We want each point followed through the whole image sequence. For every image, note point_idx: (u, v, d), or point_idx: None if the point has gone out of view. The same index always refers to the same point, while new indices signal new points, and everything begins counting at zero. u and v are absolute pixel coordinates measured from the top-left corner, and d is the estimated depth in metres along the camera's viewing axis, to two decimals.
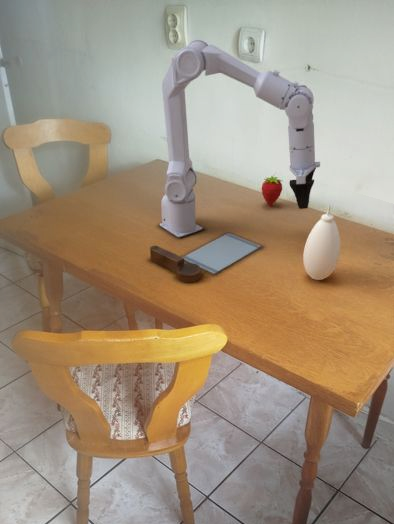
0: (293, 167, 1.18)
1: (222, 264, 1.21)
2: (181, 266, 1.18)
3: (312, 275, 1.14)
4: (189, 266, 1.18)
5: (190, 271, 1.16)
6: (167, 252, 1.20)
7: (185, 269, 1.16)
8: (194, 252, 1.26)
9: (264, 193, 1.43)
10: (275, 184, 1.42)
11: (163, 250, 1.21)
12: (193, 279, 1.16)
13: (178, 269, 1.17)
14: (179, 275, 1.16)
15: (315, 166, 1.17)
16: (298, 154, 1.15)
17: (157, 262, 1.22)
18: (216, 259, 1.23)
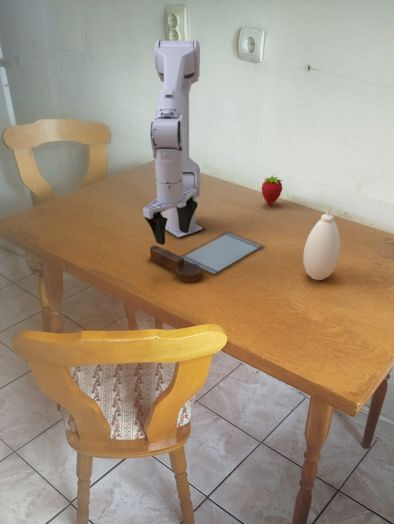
0: (157, 198, 1.09)
1: (222, 264, 1.21)
2: (181, 266, 1.18)
3: (312, 275, 1.14)
4: (189, 266, 1.18)
5: (190, 271, 1.16)
6: (167, 252, 1.20)
7: (185, 269, 1.16)
8: (194, 252, 1.26)
9: (264, 193, 1.43)
10: (275, 184, 1.42)
11: (163, 250, 1.21)
12: (193, 279, 1.16)
13: (178, 269, 1.17)
14: (179, 275, 1.16)
15: (176, 205, 1.07)
16: (158, 186, 1.06)
17: (157, 262, 1.22)
18: (216, 259, 1.23)
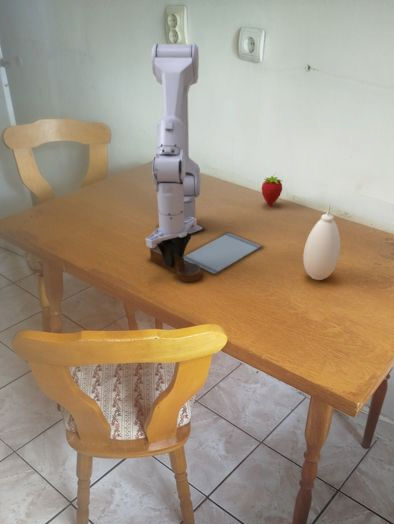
0: (159, 227, 1.14)
1: (222, 264, 1.21)
2: (181, 266, 1.18)
3: (312, 275, 1.14)
4: (189, 266, 1.18)
5: (190, 271, 1.16)
6: None
7: (185, 269, 1.17)
8: (194, 252, 1.26)
9: (264, 193, 1.43)
10: (275, 184, 1.42)
11: None
12: (193, 279, 1.16)
13: (178, 269, 1.17)
14: (179, 275, 1.16)
15: (177, 235, 1.12)
16: (160, 217, 1.10)
17: (157, 262, 1.22)
18: (216, 259, 1.23)
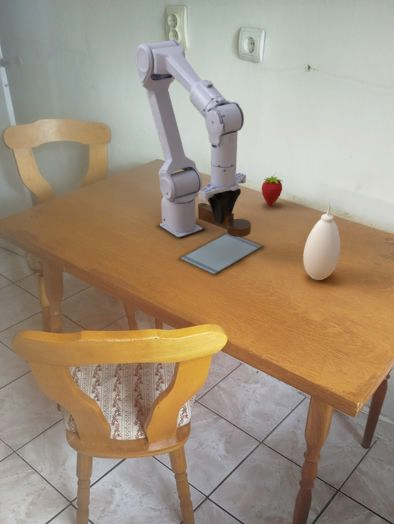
0: (210, 181, 1.15)
1: (222, 264, 1.21)
2: (230, 221, 1.19)
3: (312, 275, 1.14)
4: (239, 221, 1.19)
5: (241, 225, 1.17)
6: None
7: (235, 224, 1.17)
8: (194, 252, 1.26)
9: (264, 193, 1.43)
10: (275, 184, 1.42)
11: None
12: (244, 233, 1.17)
13: (228, 224, 1.18)
14: (230, 229, 1.17)
15: (230, 188, 1.13)
16: (213, 170, 1.11)
17: (205, 219, 1.23)
18: (216, 259, 1.23)
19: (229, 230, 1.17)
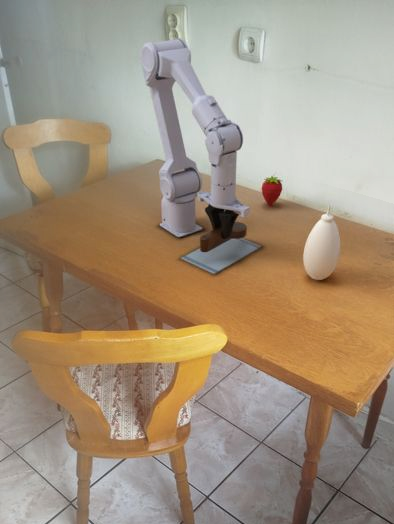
0: (224, 204, 1.15)
1: (222, 264, 1.21)
2: None
3: (312, 275, 1.14)
4: None
5: (239, 225, 1.26)
6: (214, 230, 1.21)
7: (237, 227, 1.25)
8: (194, 252, 1.26)
9: (264, 193, 1.43)
10: (275, 184, 1.42)
11: (209, 232, 1.20)
12: None
13: (237, 230, 1.24)
14: (243, 232, 1.25)
15: (234, 198, 1.19)
16: (231, 189, 1.14)
17: (213, 246, 1.21)
18: (216, 259, 1.23)
19: (242, 234, 1.25)
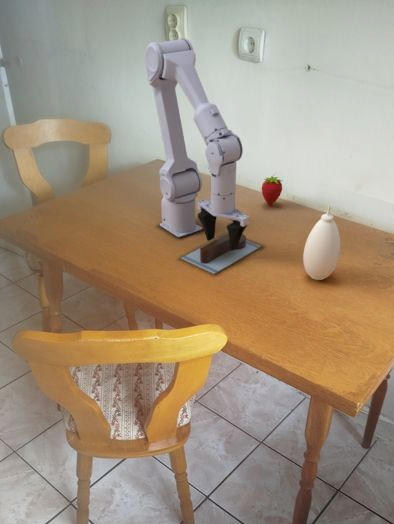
0: (223, 213, 1.17)
1: (222, 264, 1.21)
2: None
3: (312, 275, 1.14)
4: None
5: None
6: (214, 242, 1.23)
7: None
8: (194, 252, 1.26)
9: (264, 193, 1.43)
10: (275, 184, 1.42)
11: (209, 244, 1.22)
12: None
13: None
14: (242, 243, 1.27)
15: None
16: (230, 199, 1.15)
17: (213, 258, 1.23)
18: (216, 259, 1.23)
19: (241, 244, 1.27)
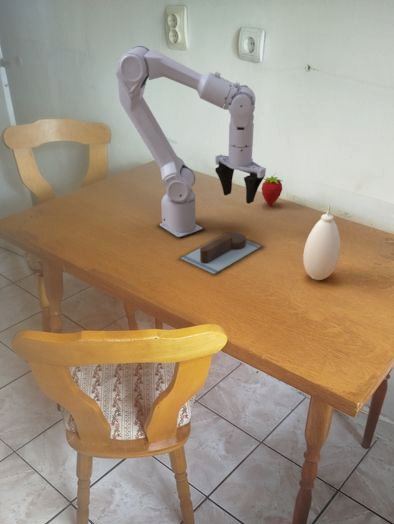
0: (241, 165, 1.21)
1: (222, 264, 1.21)
2: None
3: (312, 275, 1.14)
4: (231, 236, 1.28)
5: (238, 236, 1.28)
6: (214, 242, 1.23)
7: (236, 238, 1.27)
8: (194, 252, 1.26)
9: (264, 193, 1.43)
10: (275, 184, 1.42)
11: (209, 244, 1.22)
12: None
13: (236, 241, 1.26)
14: (242, 243, 1.27)
15: None
16: (248, 151, 1.19)
17: (213, 258, 1.23)
18: (216, 259, 1.23)
19: (241, 244, 1.27)
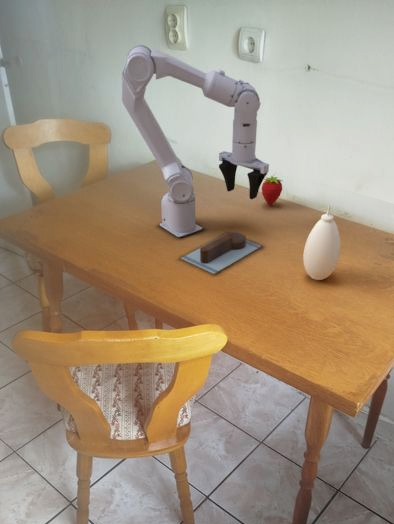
0: (244, 161, 1.23)
1: (222, 264, 1.21)
2: None
3: (312, 275, 1.14)
4: (231, 236, 1.28)
5: (238, 236, 1.28)
6: (214, 242, 1.23)
7: (236, 238, 1.27)
8: (194, 252, 1.26)
9: (264, 193, 1.43)
10: (275, 184, 1.42)
11: (209, 244, 1.22)
12: None
13: (236, 241, 1.26)
14: (242, 243, 1.27)
15: None
16: (251, 147, 1.22)
17: (213, 258, 1.23)
18: (216, 259, 1.23)
19: (241, 244, 1.27)
